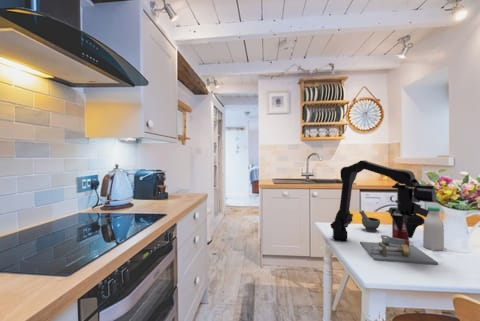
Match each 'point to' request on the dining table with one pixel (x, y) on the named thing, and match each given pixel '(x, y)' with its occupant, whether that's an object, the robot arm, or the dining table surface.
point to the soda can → (399, 232)
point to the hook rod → (393, 249)
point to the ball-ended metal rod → (393, 241)
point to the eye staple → (383, 249)
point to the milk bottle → (433, 230)
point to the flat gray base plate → (399, 255)
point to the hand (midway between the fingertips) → (404, 234)
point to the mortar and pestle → (369, 222)
